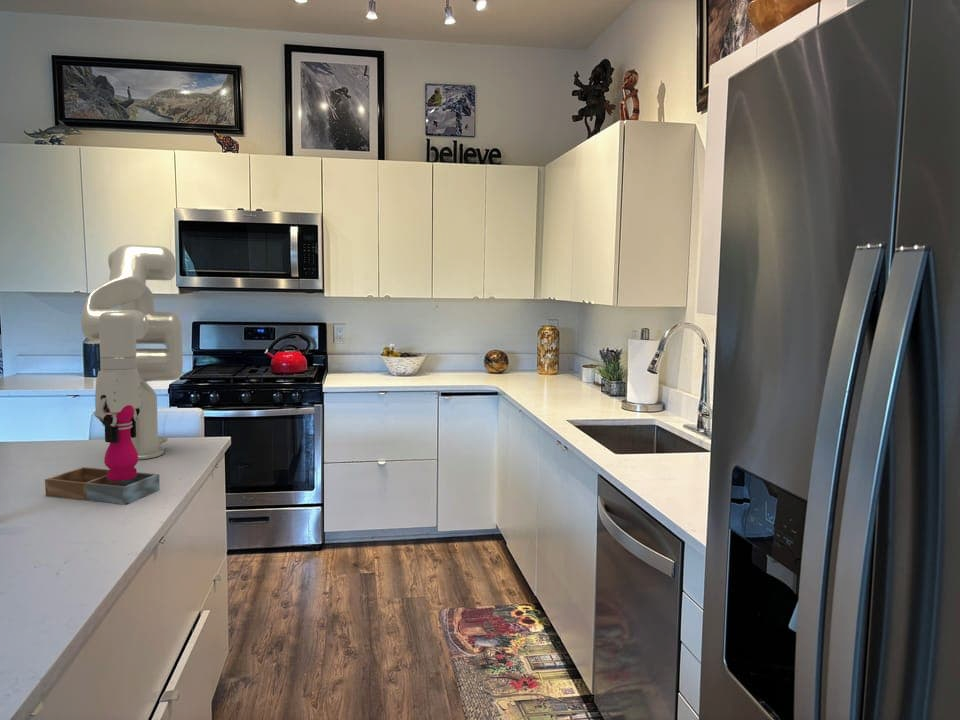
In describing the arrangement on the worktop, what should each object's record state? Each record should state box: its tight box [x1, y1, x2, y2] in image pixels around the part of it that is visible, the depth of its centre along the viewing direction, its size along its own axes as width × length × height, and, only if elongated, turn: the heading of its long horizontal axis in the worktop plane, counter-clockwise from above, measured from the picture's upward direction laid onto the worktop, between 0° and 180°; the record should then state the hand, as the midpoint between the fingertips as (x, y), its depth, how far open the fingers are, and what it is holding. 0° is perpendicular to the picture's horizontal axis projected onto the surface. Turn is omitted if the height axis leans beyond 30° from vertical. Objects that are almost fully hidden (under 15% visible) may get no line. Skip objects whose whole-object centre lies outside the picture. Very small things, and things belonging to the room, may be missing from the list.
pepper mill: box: [103, 405, 139, 481], centre depth 159 cm, size 7×7×20 cm
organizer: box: [44, 466, 160, 505], centre depth 161 cm, size 11×22×4 cm, turn 78°
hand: (120, 438), depth 159 cm, fingers closed on pepper mill, 5 cm apart
